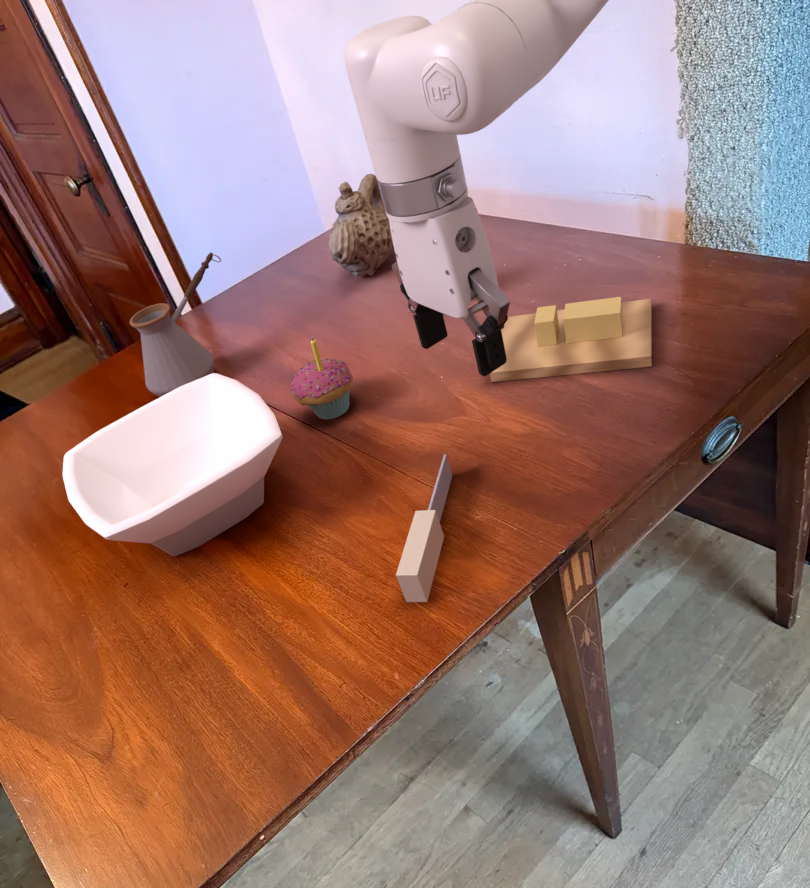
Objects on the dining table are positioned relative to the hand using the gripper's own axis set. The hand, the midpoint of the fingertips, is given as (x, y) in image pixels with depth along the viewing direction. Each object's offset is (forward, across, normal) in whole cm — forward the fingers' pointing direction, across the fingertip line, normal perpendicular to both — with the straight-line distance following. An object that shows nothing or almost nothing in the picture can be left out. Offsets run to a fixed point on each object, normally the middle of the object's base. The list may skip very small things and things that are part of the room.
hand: (463, 355), depth 77 cm
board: (+14, +9, -22) cm, 28 cm away
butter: (+12, +7, -24) cm, 28 cm away
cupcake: (+14, +26, +6) cm, 31 cm away
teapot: (+14, +60, -23) cm, 66 cm away
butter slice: (+12, +11, -21) cm, 27 cm away
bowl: (+14, +23, +28) cm, 39 cm away
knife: (+14, -5, +12) cm, 19 cm away
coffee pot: (+14, +57, +13) cm, 60 cm away
